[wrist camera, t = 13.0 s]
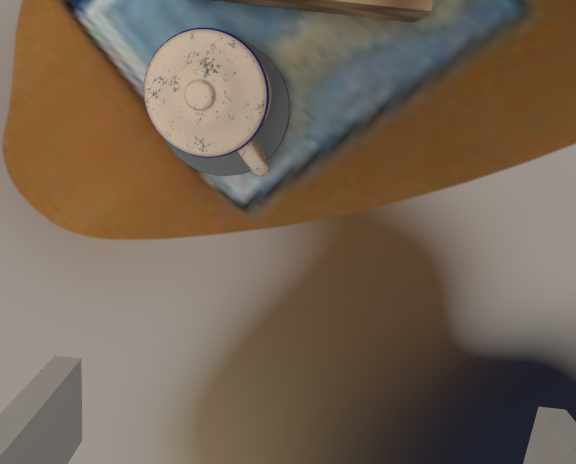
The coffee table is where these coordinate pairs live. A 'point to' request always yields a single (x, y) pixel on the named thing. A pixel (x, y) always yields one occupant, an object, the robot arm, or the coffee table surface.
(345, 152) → the coffee table surface
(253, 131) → the teacup with lid
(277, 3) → the open wooden keepsake box
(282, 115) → the trivet
